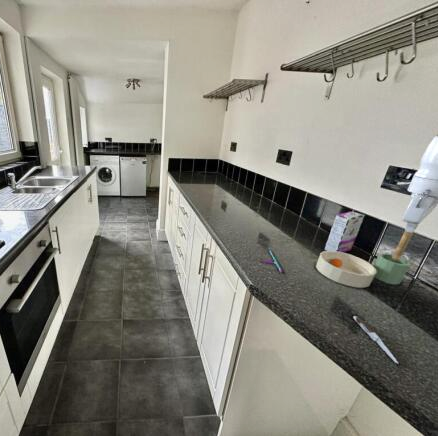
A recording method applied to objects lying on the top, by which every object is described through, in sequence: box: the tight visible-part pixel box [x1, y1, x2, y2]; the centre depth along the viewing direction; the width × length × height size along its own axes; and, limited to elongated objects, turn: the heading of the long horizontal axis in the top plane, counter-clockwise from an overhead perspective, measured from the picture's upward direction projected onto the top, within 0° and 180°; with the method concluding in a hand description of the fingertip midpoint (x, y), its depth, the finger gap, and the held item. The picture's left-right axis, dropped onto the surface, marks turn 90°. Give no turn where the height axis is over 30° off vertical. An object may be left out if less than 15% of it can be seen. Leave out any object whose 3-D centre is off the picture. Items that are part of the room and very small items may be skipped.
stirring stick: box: [392, 230, 415, 260], centre depth 74 cm, size 2×2×18 cm
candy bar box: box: [324, 211, 366, 253], centre depth 95 cm, size 11×5×16 cm, turn 114°
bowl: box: [315, 250, 377, 288], centre depth 80 cm, size 15×15×6 cm
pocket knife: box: [352, 315, 399, 365], centre depth 56 cm, size 14×1×2 cm, turn 173°
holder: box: [372, 252, 412, 285], centre depth 79 cm, size 8×8×8 cm
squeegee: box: [262, 250, 283, 274], centre depth 88 cm, size 15×1×5 cm
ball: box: [331, 259, 343, 267], centre depth 84 cm, size 3×3×3 cm
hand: (409, 230), depth 73 cm, fingers closed on stirring stick, 2 cm apart
